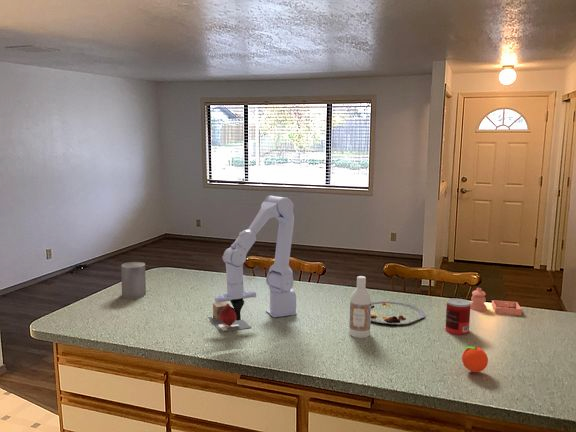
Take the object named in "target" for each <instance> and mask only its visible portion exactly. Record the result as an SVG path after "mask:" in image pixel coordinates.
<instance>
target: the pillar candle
mask: <svg viewBox="0 0 576 432" xmlns="http://www.w3.org/2000/svg"><path fill="white" fill-rule="evenodd" d="M120 270H121V271H120V275H121V277H120V278H121V297H122V298H124V299H127V298H129V299H131V298H133V299H138V298H143V297H145V296H146V295H147V284H146V279H147V278H146V263H145V262H139V261H131V262H130V261H129V262H124V263H122V264H121V266H120Z"/></svg>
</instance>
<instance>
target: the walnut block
mask: <svg viewBox="0 0 576 432" xmlns="http://www.w3.org/2000/svg"><path fill="white" fill-rule="evenodd" d="M226 304H229V303H228V301H226V302H220V303H217V304H216V303H215V302H213V303H212V315H213V317H214V318H215V319H216V320H221V319H220V313H221V311H222V309H223V308H224V307H225V306H226ZM229 306H230V307H231V305H230V304H229Z"/></svg>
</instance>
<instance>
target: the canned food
mask: <svg viewBox="0 0 576 432" xmlns="http://www.w3.org/2000/svg"><path fill="white" fill-rule="evenodd" d="M470 304H471V301H469V300H467V299H465V298H464V299H463V298H457V297H456V298H449V299H447V300H446V310H445V311H446V312H445V313H446V314H445V331H446V332H447V333H448V334H452V335H456V336H464V335H467V334H468V333H470V321H471V320H470V318H471V317H470V316H471V309H470Z"/></svg>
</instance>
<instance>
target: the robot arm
mask: <svg viewBox="0 0 576 432" xmlns="http://www.w3.org/2000/svg"><path fill="white" fill-rule="evenodd" d="M294 206H295V204H294V202H293V201H292V200H291V199H290V198H289V197H285V196H284V197H283V196H277V195H271V194H270V195H268V196H267V197H265V199H264V201H263V202H261V205H260V209H259V211H258V213H257V214H256V216H255V217H254V218H253V221H251V224H250V225H249V227H248V228H247V229H244V230H242V231H239V233H238V237H237V238H236V239H235V241H234V242H233V243H231V244H230V247H229V248H226V249H225V250H224V252H223V255H222V256H221V257H222V258H221V259H222V261H223V262H224V263H225V270H226V271H225V272H226V273H225V274H226V291H227V293H225V294H221V295H217V296H214V303H216V304H217V303H220V302H230V303H231V305H232V308H234V309H235V311H236V314H237V318H236V320H237V321H238V320H241V319H242V318H241V311H242V309H243V306H244V305H245V300H244V299H250V298H252V299H253V298H254V299H255V298H257V292H256V291H255V290H248V291H244V288H245V287H244V267H243V264H244V263H245V262H246V259H247V255H248V253H249V251H250V249H251V248H252V247H253V245H254V244H255V242H256V241H257V237H256V235H257V234H258V233H259V232H260V230H261V229H262V228H263V226H265V224H266V223H267V222H268V221H269V219H274V218H275V219H276V220H277V222H278V228H277V229H278V230H277V238H276V244H275V253H274V263H273V264H271V265H270V267H269V269H268V272H267V275H266V278H265V281H266V282H265V283H266V285H267V286H268V289H269V309H266V310H265V312H266V313H268V314H269V315H270V316H272V318H279V317H287V316H294V315H297V314H298V313H297V294H296V291H295V289H293V287H294V283H295V281H294V277H293V276H294V275H293V274H294V272H293V269H292V268H291V267H290V259H291V257H290V256H291V251H292V250H291V249H292V242H293V236H294V235H293V234H294V226H295V214H294Z"/></svg>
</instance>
